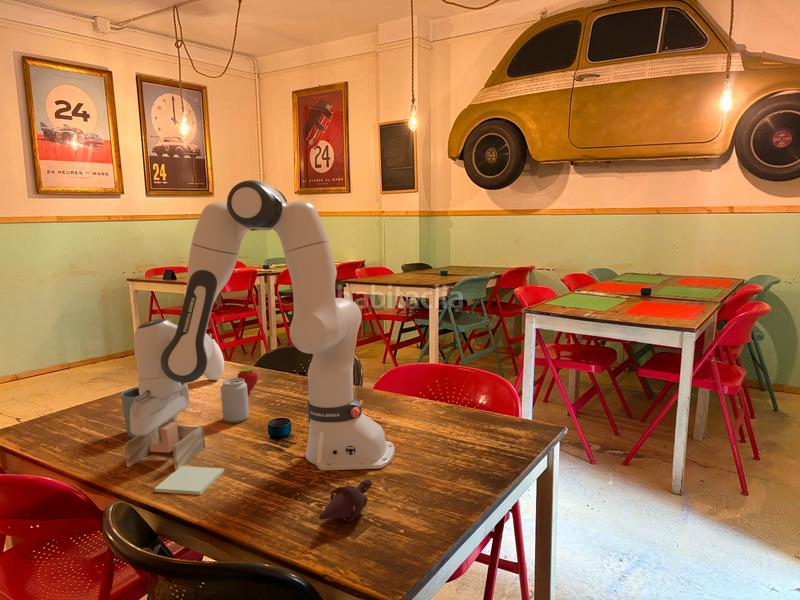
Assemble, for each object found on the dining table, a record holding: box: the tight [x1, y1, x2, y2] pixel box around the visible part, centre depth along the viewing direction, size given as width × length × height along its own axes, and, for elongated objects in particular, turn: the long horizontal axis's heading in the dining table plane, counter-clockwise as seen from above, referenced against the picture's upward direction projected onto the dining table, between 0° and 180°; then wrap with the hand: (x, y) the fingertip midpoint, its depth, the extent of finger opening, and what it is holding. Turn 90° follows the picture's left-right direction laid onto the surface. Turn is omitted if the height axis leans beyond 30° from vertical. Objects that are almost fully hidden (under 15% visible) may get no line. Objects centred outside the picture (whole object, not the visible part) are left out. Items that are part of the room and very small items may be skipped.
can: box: [220, 377, 250, 424], centre depth 166 cm, size 8×8×12 cm
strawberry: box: [236, 365, 259, 393], centre depth 191 cm, size 6×8×10 cm
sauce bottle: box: [203, 332, 225, 381], centre depth 205 cm, size 8×8×18 cm
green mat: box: [154, 465, 225, 496], centre depth 129 cm, size 11×11×1 cm
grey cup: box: [120, 386, 139, 439], centre depth 158 cm, size 10×10×12 cm
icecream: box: [318, 479, 373, 523], centre depth 111 cm, size 7×7×15 cm
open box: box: [124, 424, 206, 471], centre depth 142 cm, size 14×13×6 cm
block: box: [149, 421, 179, 453], centre depth 140 cm, size 5×4×6 cm
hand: (164, 438), depth 140 cm, fingers closed on block, 4 cm apart
